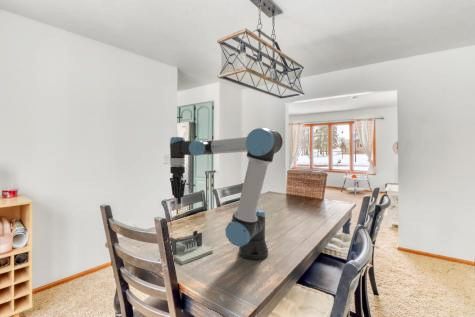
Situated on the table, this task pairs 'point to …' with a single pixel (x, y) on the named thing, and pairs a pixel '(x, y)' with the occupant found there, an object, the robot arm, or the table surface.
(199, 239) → the mounts
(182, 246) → the heatsink
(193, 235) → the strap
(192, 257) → the board
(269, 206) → the table surface
